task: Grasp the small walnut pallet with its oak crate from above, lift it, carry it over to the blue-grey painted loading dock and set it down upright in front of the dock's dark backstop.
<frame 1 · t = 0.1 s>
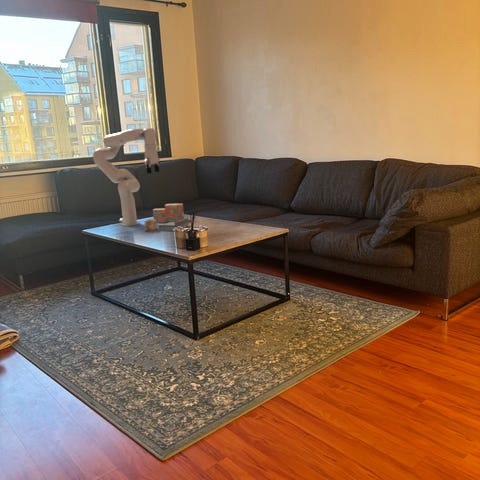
hand: (153, 172, 334), 37 cm above the table, tool pointing down, fingers open, 9 cm apart
dock: (173, 228, 328), on the table
stack of blocks: (169, 221, 355), on the table
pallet: (151, 230, 324), on the table
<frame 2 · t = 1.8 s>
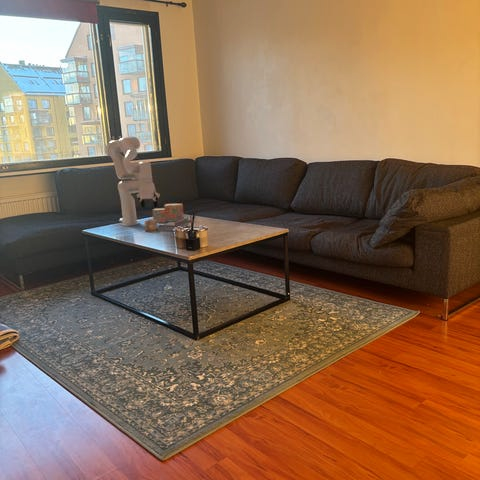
hand: (149, 207, 320), 16 cm above the table, tool pointing down, fingers open, 9 cm apart
nothing on the table moved.
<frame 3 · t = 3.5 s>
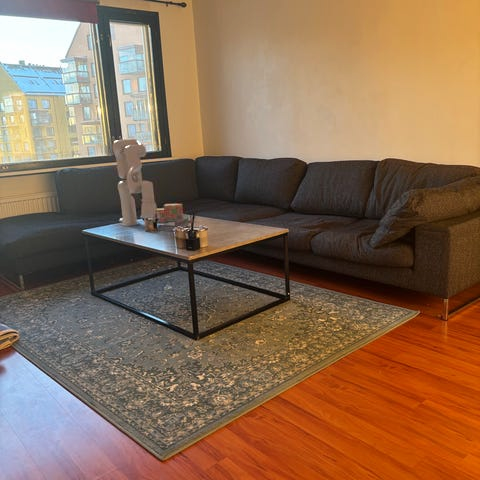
hand: (151, 227, 323), 2 cm above the table, tool pointing down, fingers closed on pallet, 5 cm apart
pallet: (151, 230, 324), on the table, touching gripper
everything else where it was.
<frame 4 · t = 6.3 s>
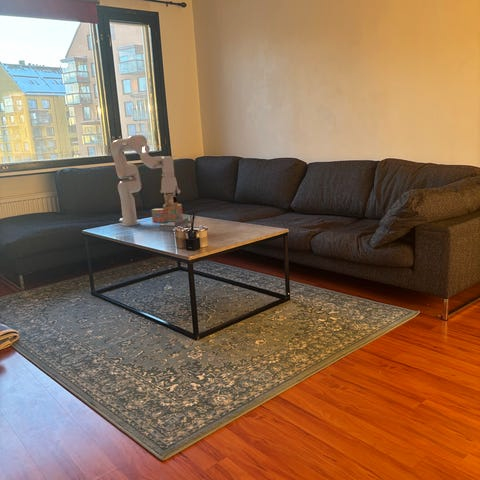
hand: (171, 202, 324), 17 cm above the table, tool pointing down, fingers closed on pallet, 5 cm apart
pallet: (171, 205, 325), point 15 cm above the table, touching gripper
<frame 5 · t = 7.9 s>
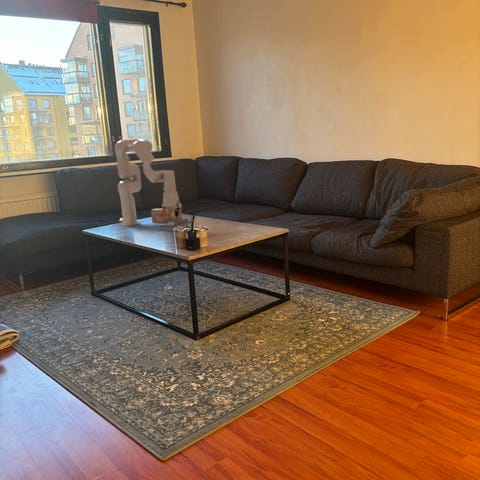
hand: (172, 216, 326), 8 cm above the table, tool pointing down, fingers closed on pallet, 5 cm apart
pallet: (173, 219, 327), point 6 cm above the table, touching gripper
when the fingers open (6 cm above the table, at t = 9.3 s): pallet stays where it is, resting on dock.
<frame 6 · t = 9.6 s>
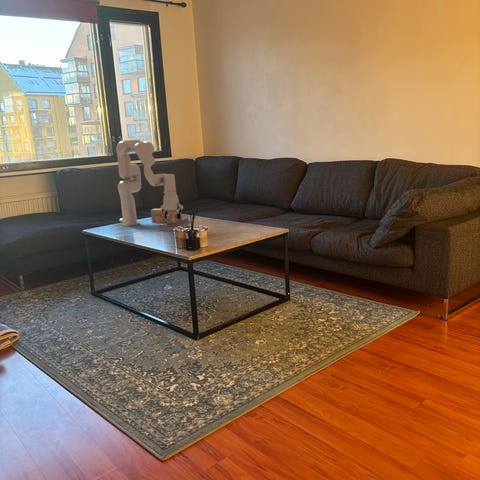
hand: (172, 218, 327), 6 cm above the table, tool pointing down, fingers open, 9 cm apart
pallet: (173, 224, 328), point 2 cm above the table, touching dock
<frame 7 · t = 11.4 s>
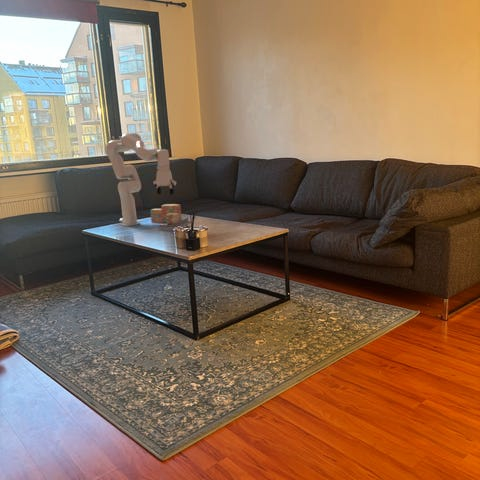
hand: (165, 194, 326), 23 cm above the table, tool pointing down, fingers open, 9 cm apart
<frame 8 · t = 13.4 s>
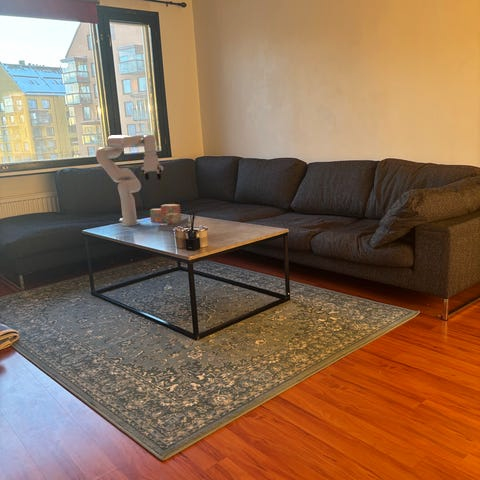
hand: (153, 179, 331), 32 cm above the table, tool pointing down, fingers open, 9 cm apart
at the end: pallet 0.1 cm from the dock (horizontally); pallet point 2.5 cm above the table; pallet tilted 0° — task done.
